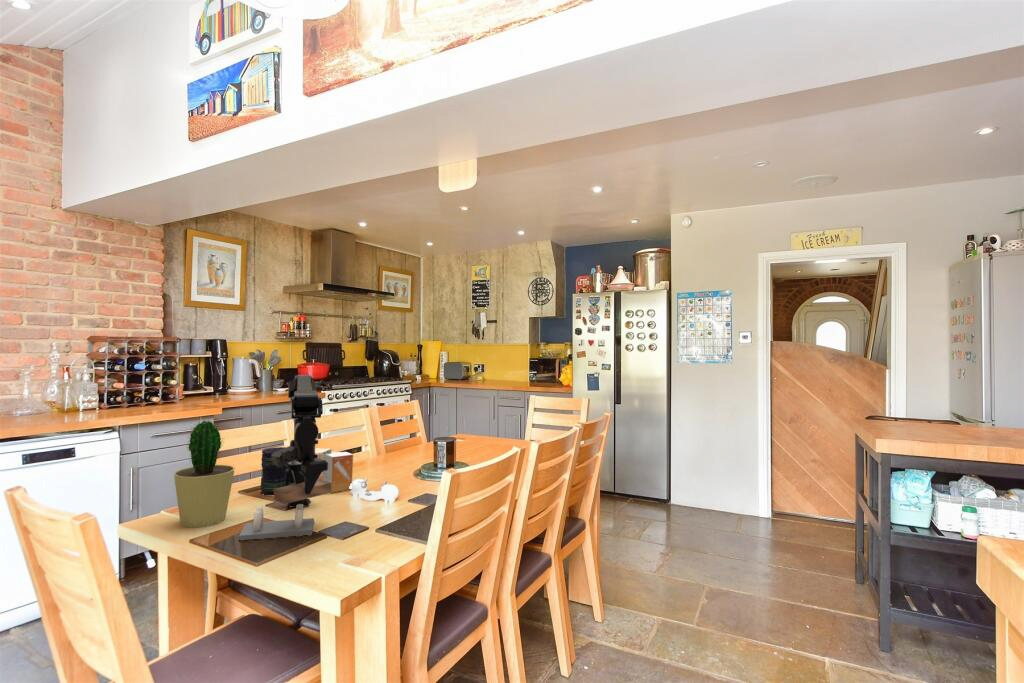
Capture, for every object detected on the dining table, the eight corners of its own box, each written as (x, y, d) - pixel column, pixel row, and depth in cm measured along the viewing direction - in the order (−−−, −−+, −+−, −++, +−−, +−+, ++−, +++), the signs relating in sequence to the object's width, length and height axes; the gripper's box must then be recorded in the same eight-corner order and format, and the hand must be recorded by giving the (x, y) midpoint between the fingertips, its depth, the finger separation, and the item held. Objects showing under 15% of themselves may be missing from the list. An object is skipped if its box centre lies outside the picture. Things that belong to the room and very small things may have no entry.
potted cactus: (241, 520, 148) (244, 419, 149) (181, 534, 137) (185, 424, 138) (223, 508, 159) (226, 414, 159) (165, 520, 147) (169, 418, 148)
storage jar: (271, 487, 184) (272, 446, 184) (296, 489, 183) (297, 447, 183) (254, 495, 174) (255, 451, 175) (280, 496, 173) (281, 453, 173)
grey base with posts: (246, 528, 142) (246, 505, 143) (314, 523, 148) (314, 500, 148) (238, 541, 133) (239, 516, 133) (311, 535, 139) (312, 511, 139)
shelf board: (319, 489, 151) (319, 479, 151) (331, 492, 147) (331, 482, 147) (273, 499, 139) (273, 488, 140) (284, 503, 136) (285, 492, 136)
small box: (331, 493, 178) (332, 456, 178) (323, 489, 183) (324, 454, 183) (352, 489, 184) (353, 454, 184) (344, 486, 188) (345, 451, 189)
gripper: (263, 435, 144) (261, 489, 144) (288, 444, 131) (286, 504, 131) (302, 431, 152) (300, 482, 152) (329, 440, 139) (328, 496, 139)
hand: (303, 491), depth 143 cm, fingers closed on shelf board, 6 cm apart
